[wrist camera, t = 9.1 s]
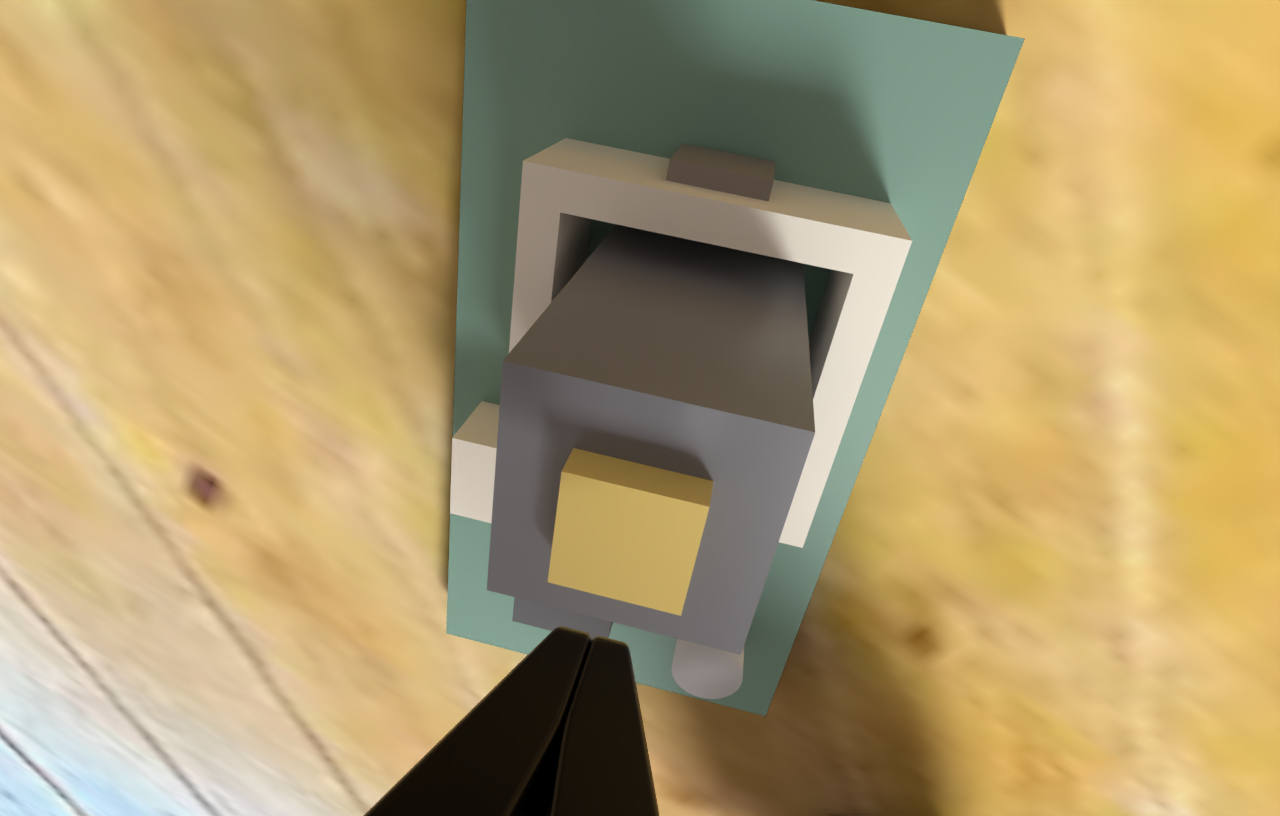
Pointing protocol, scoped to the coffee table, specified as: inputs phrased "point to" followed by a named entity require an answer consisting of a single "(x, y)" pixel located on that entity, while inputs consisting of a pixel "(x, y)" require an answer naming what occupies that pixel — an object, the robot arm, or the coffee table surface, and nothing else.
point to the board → (707, 236)
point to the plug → (654, 438)
